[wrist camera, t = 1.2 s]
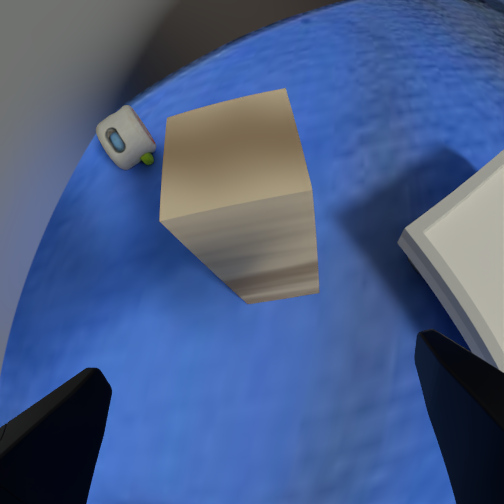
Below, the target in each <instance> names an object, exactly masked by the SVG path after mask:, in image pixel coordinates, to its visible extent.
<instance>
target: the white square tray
mask: <svg viewBox="0 0 504 504" xmlns="http://www.w3.org/2000/svg"><path fill="white" fill-rule="evenodd" d="M397 243H398V244H399V246H400V247H401V248H402V250H403V251H404V252H405V254H406V255H407V256H408V261H409V262H410V263H411V265H412V266H413V267H414V269H415V270H416V272H417V273H420V274H421V275H422V277H423V278H424V279H425V281H426V282H427V284H428V285H429V286H430V288H431V289H432V291H433V292H434V294H435V295H436V297H437V298H438V299H439V301H440V302H441V304H442V305H443V307H444V308H445V310H446V311H447V313H448V314H449V316H450V317H451V319H452V321H453V322H454V324H455V325H456V327H457V328H458V330H459V332H460V333H461V335H462V336H463V338H464V340H465V341H466V343H467V345H468V346H469V348H470V350H471V351H472V353H473V354H475V355H477V356H478V357H480V358H481V359H483V360H485V361H486V362H488V363H489V364H491V365H493V366H494V367H496V368H497V369H499V370H501V371H502V372H504V150H503V151H502V152H500V153H499V154H498V155H497V156H496V157H494V158H493V159H492V160H491V161H490V162H489V163H487V164H486V165H485V166H484V167H483V168H481V169H480V170H479V171H478V172H477V173H475V174H474V175H473V176H472V177H470V178H469V179H468V180H467V181H465V182H464V183H463V184H462V185H460V186H459V187H458V188H457V189H455V190H454V191H453V192H452V193H450V194H449V195H448V196H446V197H445V198H444V199H443V200H441V201H440V202H439V203H437V204H436V205H435V206H434V207H432V208H431V209H430V210H428V211H427V212H426V213H424V214H423V215H422V216H420V217H419V218H418V219H416V220H415V221H414V222H412V223H411V224H410V225H408V226H407V227H405V228H404V230H403V232H402V234H401V236H400V238H399V240H398V242H397Z"/></svg>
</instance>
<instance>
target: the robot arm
mask: <svg viewBox="0 0 504 504" xmlns="http://www.w3.org/2000/svg"><path fill="white" fill-rule="evenodd" d="M415 365H416V368H417V372H418V376H419V380H420V383H421V387H422V391H423V395H424V399H425V404H426V408H427V411H428V415H429V418H430V421H431V423H432V426H433V429H434V432H435V435H436V438H437V441H438V444H439V447H440V450H441V453H442V456H443V459H444V462H445V465H446V469H447V472H448V475H449V479H450V482H451V486H452V489H453V493H454V497H455V500H456V504H504V372H502V371H501V370H499V369H497V368H496V367H494V366H493V365H491V364H489V363H488V362H486V361H485V360H483V359H481V358H480V357H478V356H477V355H475V354H473V353H472V352H470V351H469V350H467V349H465V348H464V347H462V346H460V345H459V344H457V343H456V342H454V341H452V340H451V339H449V338H447V337H446V336H444V335H442V334H441V333H439V332H438V331H436V330H434V329H429V330H425V331H421V332H419V333H418V335H417V340H416V348H415ZM111 396H112V389H111V386H110V384H109V383H108V381H107V380H106V378H105V377H104V375H103V373H102V372H101V370H99V369H98V368H86V369H84V370H83V371H81V372H80V373H78V374H77V375H76V376H74V377H73V378H71V379H70V380H68V381H67V382H65V383H64V384H63V385H61V386H60V387H58V388H57V389H55V390H54V391H53V392H51V393H50V394H48V395H47V396H45V397H44V398H42V399H41V400H40V401H38V402H37V403H35V404H34V405H32V406H31V407H29V408H28V409H27V410H25V411H24V412H22V413H21V414H19V415H18V416H17V417H15V418H14V419H12V420H11V421H9V422H8V424H5V425H3V426H2V427H1V428H0V504H86V503H87V498H88V494H89V489H90V485H91V481H92V477H93V473H94V469H95V465H96V462H97V458H98V454H99V450H100V447H101V443H102V440H103V436H104V431H105V426H106V421H107V416H108V410H109V405H110V400H111Z"/></svg>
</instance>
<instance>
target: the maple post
mask: <svg viewBox="0 0 504 504" xmlns="http://www.w3.org/2000/svg"><path fill="white" fill-rule="evenodd" d="M159 221H160V222H161V223H162V224H163V225H164V226H165V227H166V228H167V229H168V230H169V231H170V232H171V233H172V234H173V235H174V236H175V237H176V238H177V239H178V240H179V241H180V242H181V243H182V244H183V245H185V246H186V247H187V248H188V249H189V250H190V251H191V252H192V253H193V254H194V255H195V256H196V257H197V258H198V259H199V260H200V261H201V262H203V263H204V264H205V265H206V266H207V267H208V268H209V269H210V270H211V271H212V272H213V273H214V274H215V275H216V276H218V277H219V278H220V279H221V280H222V281H223V282H224V283H225V284H226V285H227V286H228V287H230V288H231V289H232V290H233V291H234V292H235V293H236V294H237V295H238V296H239V297H240V298H242V299H243V300H244V301H245V302H246V303H247V304H252V303H259V302H266V301H272V300H279V299H285V298H291V297H298V296H304V295H310V294H316V293H319V276H318V258H317V242H316V228H315V215H314V203H313V192H312V187H311V182H310V178H309V174H308V170H307V166H306V162H305V158H304V154H303V150H302V146H301V142H300V138H299V135H298V131H297V127H296V123H295V120H294V116H293V113H292V109H291V106H290V102H289V99H288V95H287V92H286V88H285V89H279V90H274V91H269V92H264V93H259V94H254V95H250V96H245V97H241V98H237V99H233V100H228V101H224V102H220V103H217V104H213V105H209V106H205V107H202V108H198V109H195V110H191V111H188V112H184V113H181V114H178V115H175V116H171V117H168V118H167V124H166V134H165V144H164V155H163V168H162V182H161V198H160V220H159Z"/></svg>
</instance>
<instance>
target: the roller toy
mask: <svg viewBox="0 0 504 504" xmlns="http://www.w3.org/2000/svg"><path fill="white" fill-rule="evenodd" d="M96 133H97V136H98V139H99V141H100V143H101V145H102V146H103V148H104V149H105V151H106V153H107V154H108V155H109V157H110V158H111V159H112V160H113V162H114V163H115V164H116V165H117V166H118V167H120V168H121V169H123V170H129V169H130V168H132V167H133V166H135V165H136V164H138V163H139V162H141V161H143V162H144V163H145V164H146V165H151V164H152V163H153V162H154V158H153V156H152V154H151V153H153V152H155V150H156V144H155V142H154V140H153V138H152V136H151V135H150V133H149V131H148V130H147V128H146V127H145V125H144V124H143V122H142V121H141V119H140V118H139V116H138V115H137V114H136V112H135V111H134V110H133V109H132V108H131V107H130V106H129V105H125V106H123V107H122V108H121V109H120V110H119V111H117V112H116V113H114V114H112V115H110V116H108V117H107V118H106V119H104V120H103V121H102V122H101V123H99V124H98V126H97V128H96Z"/></svg>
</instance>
